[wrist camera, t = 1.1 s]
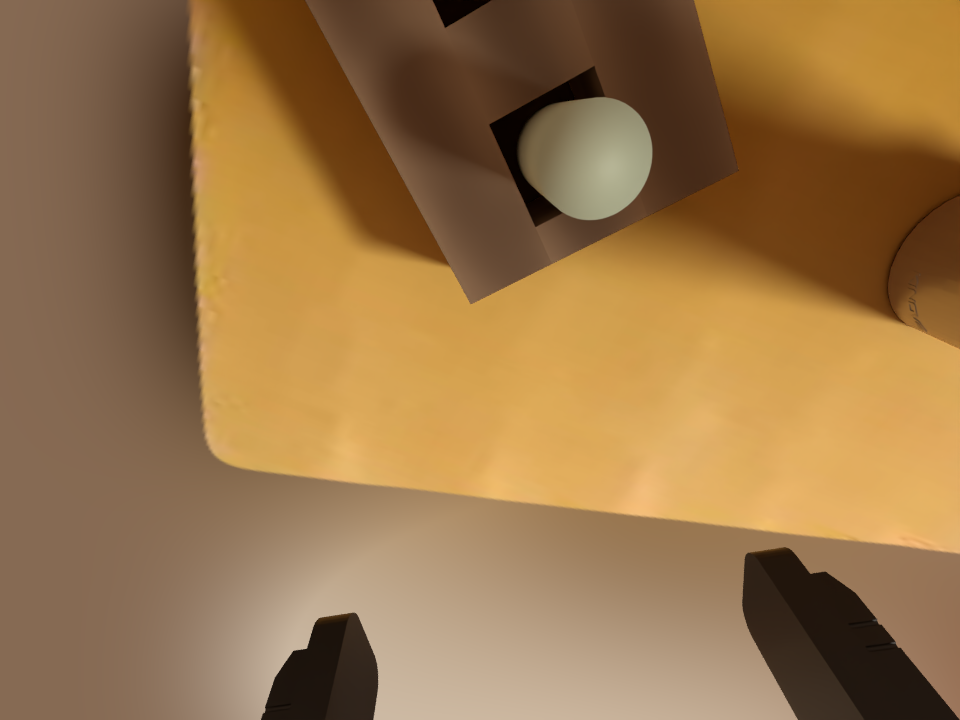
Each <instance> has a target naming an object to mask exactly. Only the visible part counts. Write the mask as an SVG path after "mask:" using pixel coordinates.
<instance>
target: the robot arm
mask: <svg viewBox="0 0 960 720" xmlns="http://www.w3.org/2000/svg"><path fill="white" fill-rule="evenodd" d="M888 296H889V299H890V303H891V306H892V309H893V310H894V312H895V313H896V315H897V316H898V318H900V319H901V320H902V321H903V322H905V323H906V324H907V325H909V326H911V327H913V328H915V329H918V330H920V331H922V332H924V333H926V334H928V335H931V336H933V337H935V338H937V339H939V340H941V341H944V342H946V343H948V344H950V345H952V346H954V347H957V348H959V349H960V196H958V197H956V198H953V199H951V200H949V201H947V202H946V203H944V204H943V205H941V206H940V207H938V208H937V209H935V210H934V211H932V212H931V213H930V214H929V215H928V216H927V217H925V218H924V219H923V220H922V221H921V222H920V223H919V224H918V225H917V226H916V227H915V228H914V230H913V231H912V232H911V233H910V234H909V235H908V237H907V238H906V239H905V241H904V243H903V244H902V246H901V248H900V249H899V251H898V252H897V255H896V257H895V260H894V262H893V265H892V267H891V271H890V276H889V281H888ZM742 603H743V604H742V606H743V612H744V616H745V620H746V623H747V626H748V629H749V631H750V633H751V635H752V638H753V639H754V641H755V643H756V645H757V646H758V649H759V650H760V652H761V654H762V656H763V658H764V659H765V661H766V663H767V665H768V667H769V668H770V670H771V672H772V674H773V675H774V677H775V679H776V681H777V683H778V685H779V686H780V688H781V690H782V692H783V693H784V695H785V697H786V699H787V701H788V703H789V704H790V706H791V708H792V710H793V711H794V713H795V715H796V717H797V719H798V720H959V718H958V717H957V716H956V715H955V713H954V712H953V711H952V710H951V709H950V707H949V706H948V705H947V704H946V703H945V701H944V700H943V699H942V698H941V697H940V695H939V694H938V693H937V692H936V690H935V689H934V688H933V687H932V686H931V684H930V683H929V682H928V681H927V679H926V678H925V677H924V676H923V675H922V673H921V672H920V671H919V670H918V669H917V667H916V666H915V665H914V664H913V662H912V661H911V660H910V659H909V658H908V656H907V655H906V654H905V653H904V652H903V650H902V649H901V648H898V647H897V645H896V642H895V641H894V639H893V638H892V637H891V636H890V635H889V633H888V632H887V631H886V630H885V628H884V627H883V626H882V625H879V624H878V622H877V619H876V618H875V616H874V615H873V614H872V613H871V612H870V610H869V609H868V608H867V607H866V605H865V604H864V603H863V602H862V601H861V599H860V598H859V597H858V596H857V594H856V593H855V592H853V591H852V590H851V589H849V588H848V587H846V586H845V585H844V584H842V583H841V582H839V581H838V580H837V579H835V578H834V577H832V576H831V575H829V574H828V573H827V572H820V573H813V574H810V573H809V572H808V571H807V569H806V568H805V566H804V565H803V564H802V562H801V561H800V560H799V559H798V557H797V556H796V555H795V554H794V552H792V550H790V549H789V548H786V547H784V548H777V549H771V550H764V551H758V552H751V553H747V554H746V556H745V565H744V583H743V600H742ZM377 691H378V669H377V663H376V659H375V655H374V653H373V651H372V649H371V646H370V644H369V641H368V639H367V636H366V634H365V632H364V630H363V627H362V624H361V622H360V620H359V617H358V615H357V614H356V613H348V614H342V615H335V616H329V617H322V618H319V619H318V620H317V621H316V622H315V625H314V627H313V630H312V634H311V637H310V641H309V644H308V648H307V649H303V650H296V651H293V652H292V654H291V655H290V657H289V658H288V660H287V661H286V662H285V664H284V665H283V667H282V668H281V670H280V671H279V673H278V674H277V676H276V677H275V679H274V682H273V685H272V688H271V691H270V694H269V697H268V700H267V703H266V706H265V708H266V711H265V713H263V715H262V718H261V720H373V718H374V712H375V705H376V698H377Z"/></svg>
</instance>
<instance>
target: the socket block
mask: <svg viewBox="0 0 960 720" xmlns="http://www.w3.org/2000/svg"><path fill="white" fill-rule="evenodd" d="M305 1H306V3H307V5H308V7H309V8H310V10H311V12H312V14H313V16H314V18H315V19H316V21H317V23H318V25H319V27H320V29H321V30H322V32H323V34H324V36H325V38H326V40H327V41H328V43H329V45H330V47H331V49H332V51H333V52H334V54H335V56H336V58H337V60H338V62H339V63H340V65H341V67H342V69H343V71H344V73H345V74H346V76H347V78H348V80H349V82H350V84H351V85H352V87H353V89H354V91H355V93H356V95H357V96H358V98H359V100H360V102H361V104H362V106H363V107H364V109H365V111H366V113H367V115H368V117H369V118H370V120H371V122H372V124H373V126H374V128H375V129H376V131H377V133H378V135H379V137H380V139H381V140H382V142H383V144H384V146H385V148H386V150H387V151H388V153H389V155H390V157H391V159H392V161H393V162H394V164H395V166H396V168H397V170H398V172H399V173H400V175H401V177H402V179H403V181H404V183H405V184H406V186H407V188H408V190H409V192H410V194H411V195H412V197H413V199H414V201H415V203H416V205H417V206H418V208H419V210H420V212H421V214H422V216H423V217H424V219H425V221H426V223H427V225H428V227H429V228H430V230H431V232H432V234H433V236H434V238H435V239H436V241H437V243H438V245H439V247H440V249H441V250H442V252H443V254H444V256H445V258H446V260H447V261H448V263H449V265H450V267H451V269H452V271H453V272H454V274H455V276H456V278H457V280H458V282H459V283H460V285H461V287H462V289H463V291H464V293H465V294H466V296H467V298H468V300H469V302H470V304H472V303H475V302H477V301H479V300H481V299H483V298H485V297H487V296H489V295H491V294H493V293H495V292H497V291H499V290H501V289H503V288H505V287H507V286H509V285H511V284H513V283H515V282H517V281H519V280H521V279H523V278H525V277H527V276H529V275H531V274H533V273H535V272H537V271H539V270H541V269H543V268H545V267H547V266H549V265H551V264H553V263H555V262H557V261H559V260H561V259H563V258H565V257H567V256H569V255H571V254H573V253H575V252H577V251H579V250H581V249H583V248H585V247H587V246H589V245H591V244H593V243H595V242H597V241H599V240H601V239H603V238H605V237H607V236H609V235H611V234H613V233H615V232H617V231H619V230H621V229H623V228H625V227H627V226H629V225H631V224H633V223H635V222H637V221H639V220H641V219H643V218H645V217H647V216H649V215H651V214H653V213H655V212H657V211H659V210H661V209H663V208H665V207H667V206H669V205H671V204H673V203H675V202H677V201H679V200H681V199H683V198H685V197H687V196H689V195H691V194H693V193H695V192H697V191H699V190H701V189H703V188H705V187H707V186H709V185H711V184H713V183H715V182H717V181H719V180H721V179H723V178H725V177H727V176H729V175H731V174H733V173H735V172H737V171H739V170H738V166H737V162H736V158H735V155H734V151H733V147H732V143H731V140H730V136H729V132H728V128H727V124H726V121H725V117H724V113H723V109H722V105H721V102H720V98H719V94H718V90H717V87H716V83H715V79H714V75H713V71H712V68H711V64H710V60H709V56H708V52H707V49H706V45H705V41H704V37H703V34H702V30H701V26H700V22H699V18H698V15H697V11H696V7H695V3H694V0H492V1H490V2H488V3H487V4H485V5H483V6H482V7H480V8H478V9H477V10H475V11H473V12H472V13H470V14H468V15H467V16H465V17H463V18H461V19H460V20H458V21H456V22H455V23H453V24H451V25H450V26H448V27H446V28H445V27H444V25H443V22H442V20H441V18H440V16H439V13H438V11H437V9H436V7H435V5H434V2H433V0H305ZM566 81H568V82H569V85H570V87H571V90H572V93H573V95H574V98H575V100H581V99H588V98H596V97H606V98H612V99H616V100H619V101H621V102H623V103H625V104H627V105H629V106H630V107H631V108H633V109H634V110H635V111H636V112H637V113H638V114H639V115H640V117H641V118H642V119H643V121H644V123H645V124H646V126H647V129H648V131H649V134H650V138H651V142H652V163H651V168H650V172H649V175H648V178H647V180H646V182H645V184H644V186H643V188H642V190H641V191H640V193H639V194H638V195H637V196H636V198H635V199H634V200H633V201H632V202H631V203H630V204H629V205H628V206H626V207H625V208H624V209H623V210H621V211H619V212H618V213H616V214H614V215H611V216H609V217H606V218H603V219H597V220H582V219H577V218H573V217H571V216H569V215H566V214H565V213H563V212H561V211H560V210H559V209H558V208H556V207H555V206H554V205H553V204H552V203H551V202H549V201H548V200H547V199H546V198H545V197H544V196H541V197H539V198H537V199H535V200H533V201H532V202H530V203H528V204H526V205H525V203H524V201H523V199H522V197H521V194H520V192H519V190H518V188H517V186H516V183H515V181H514V179H513V177H512V175H511V172H510V170H509V168H508V166H507V164H506V161H505V159H504V157H503V155H502V152H501V150H500V148H499V146H498V144H497V141H496V139H495V137H494V135H493V133H492V130H491V128H490V126H489V124H491V123H493V122H494V121H496V120H498V119H500V118H502V117H503V116H505V115H507V114H509V113H511V112H512V111H514V110H516V109H518V108H520V107H521V106H523V105H525V104H527V103H529V102H530V101H532V100H534V99H536V98H538V97H539V96H541V95H543V94H545V93H546V92H548V91H550V90H552V89H554V88H555V87H557V86H559V85H561V84H563V83H564V82H566Z"/></svg>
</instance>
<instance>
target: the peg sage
mask: <svg viewBox="0 0 960 720" xmlns="http://www.w3.org/2000/svg"><path fill="white" fill-rule="evenodd" d="M516 154H517V161H518V166H519V168H520V171H521V173H522V175H523V176H524V178H525V179H526V181H527V182H528V183H529V184H530V185H531V186H532V187H534V188H535V189H536V190H537V191H538V192H539V193H540V194H542V195H543V196H544V197H545V198H546V199H547V200H548V201H549V202H551V203H552V204H553V205H554V206H555V207H556V208H558V209H559V210H560V211H561V212H563V213H565V214H566V215H569V216H571V217H573V218H577V219H582V220H597V219H603V218H606V217H609V216H611V215H614V214H616V213H618V212H619V211H621V210H623V209H624V208H625V207H626V206H628V205H629V204H630V203H631V202H632V201H633V200H634V199H635V198H636V196H637V195H638V194H639V193H640V191H641V190H642V188H643V186H644V184H645V182H646V180H647V178H648V175H649V172H650V168H651V163H652V142H651V138H650V134H649V131H648V129H647V126H646V124H645V123H644V121H643V119H642V118H641V117H640V115H639V114H638V113H637V112H636V111H635V110H634V109H633V108H631V107H630V106H629V105H627V104H625V103H623V102H621V101H619V100H616V99H612V98H606V97H596V98H588V99H581V100H573V101H566V102H558V103H552V104H549V105H546V106H544V107H542V108H540V109H539V110H537V111H536V112H535V113H534V114H532V115H531V116H530V118H529V119H528V120H527V121H526V123H525V124H524V126H523V128H522V129H521V132H520V134H519V138H518V141H517V152H516Z"/></svg>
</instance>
